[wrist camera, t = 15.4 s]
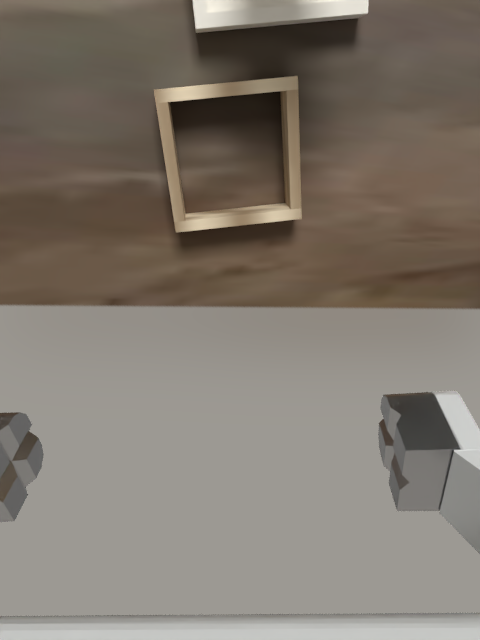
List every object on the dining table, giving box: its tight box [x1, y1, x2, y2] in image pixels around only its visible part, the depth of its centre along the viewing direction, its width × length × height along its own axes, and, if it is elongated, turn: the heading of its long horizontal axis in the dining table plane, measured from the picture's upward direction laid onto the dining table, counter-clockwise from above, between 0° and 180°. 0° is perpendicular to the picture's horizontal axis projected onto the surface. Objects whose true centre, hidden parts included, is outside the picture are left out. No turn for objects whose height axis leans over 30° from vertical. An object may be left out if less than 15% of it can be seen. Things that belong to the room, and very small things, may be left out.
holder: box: [154, 76, 302, 233], centre depth 41 cm, size 12×12×3 cm
